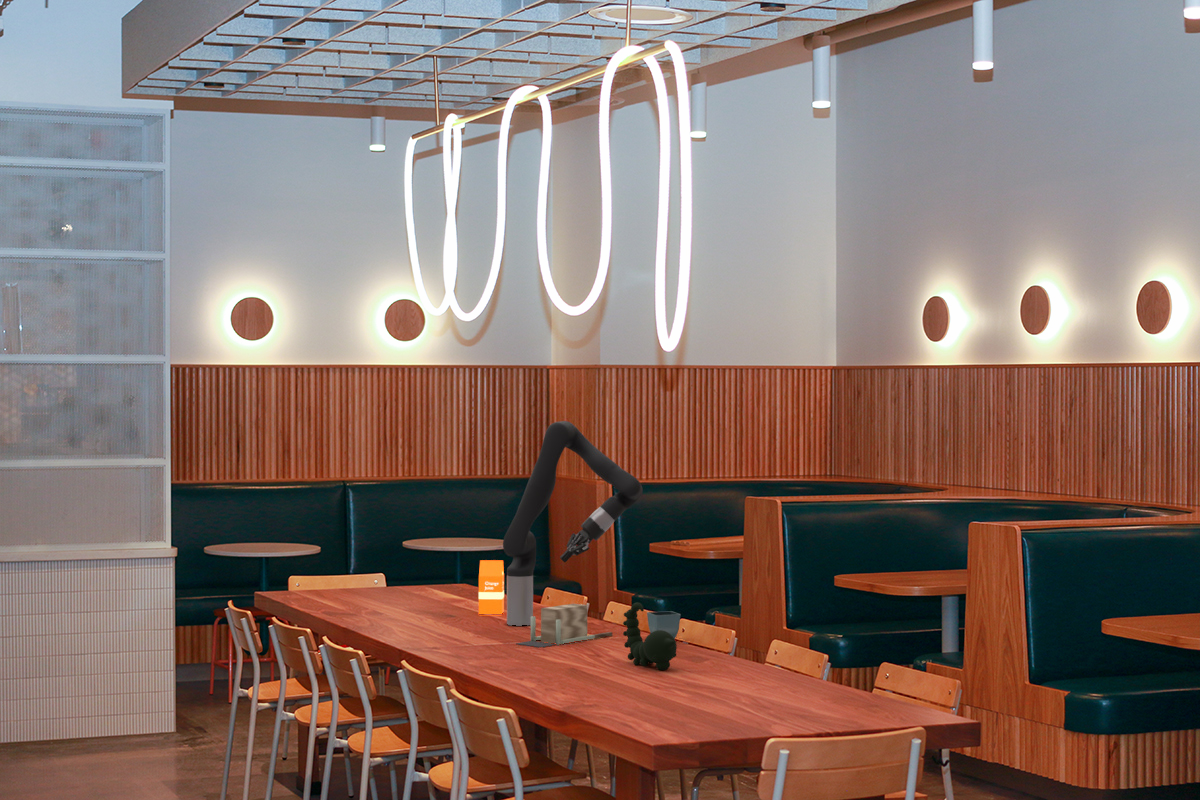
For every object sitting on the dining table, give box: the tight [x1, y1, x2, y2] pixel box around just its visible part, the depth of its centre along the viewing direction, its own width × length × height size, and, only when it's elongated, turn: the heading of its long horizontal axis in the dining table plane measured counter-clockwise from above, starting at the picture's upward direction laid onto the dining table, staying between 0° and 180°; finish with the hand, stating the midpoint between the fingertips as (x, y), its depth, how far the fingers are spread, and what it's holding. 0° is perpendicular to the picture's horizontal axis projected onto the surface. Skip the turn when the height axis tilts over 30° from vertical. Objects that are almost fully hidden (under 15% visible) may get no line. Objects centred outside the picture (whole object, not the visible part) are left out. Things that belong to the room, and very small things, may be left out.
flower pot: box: [646, 610, 681, 640], centre depth 446 cm, size 9×9×9 cm
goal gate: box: [530, 615, 595, 646], centre depth 446 cm, size 18×13×8 cm
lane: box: [593, 631, 613, 639], centre depth 456 cm, size 9×13×1 cm
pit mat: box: [515, 640, 557, 648], centre depth 436 cm, size 7×11×1 cm, turn 50°
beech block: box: [540, 603, 588, 644], centre depth 447 cm, size 16×6×11 cm, turn 140°
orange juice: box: [478, 559, 505, 615], centre depth 511 cm, size 8×9×20 cm
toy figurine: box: [622, 602, 678, 671], centre depth 396 cm, size 9×19×25 cm
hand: (562, 560), depth 463 cm, fingers closed
